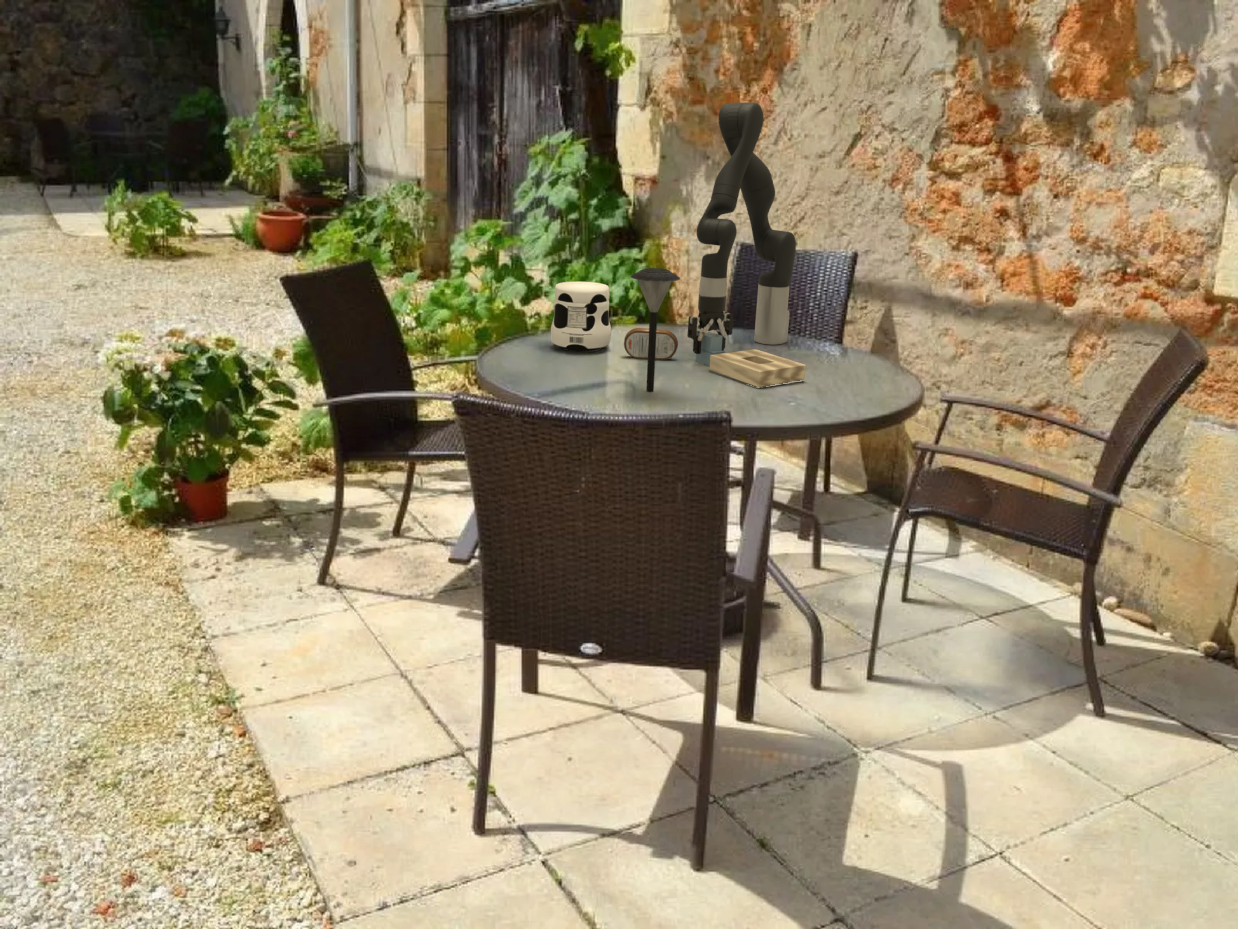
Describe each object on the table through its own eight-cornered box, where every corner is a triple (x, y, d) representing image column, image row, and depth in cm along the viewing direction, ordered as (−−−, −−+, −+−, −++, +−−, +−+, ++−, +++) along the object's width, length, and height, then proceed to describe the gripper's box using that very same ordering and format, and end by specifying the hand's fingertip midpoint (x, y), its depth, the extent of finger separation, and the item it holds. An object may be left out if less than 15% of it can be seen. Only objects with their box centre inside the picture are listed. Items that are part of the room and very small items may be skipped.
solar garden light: (679, 397, 263) (686, 274, 254) (630, 397, 261) (635, 274, 252) (668, 384, 275) (675, 266, 265) (621, 384, 273) (626, 265, 263)
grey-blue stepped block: (703, 358, 303) (705, 330, 300) (724, 365, 296) (726, 337, 294) (692, 360, 301) (694, 331, 298) (712, 367, 294) (714, 338, 291)
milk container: (591, 339, 321) (593, 279, 315) (621, 352, 307) (624, 289, 301) (540, 344, 312) (540, 282, 306) (568, 357, 298) (569, 293, 292)
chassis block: (754, 365, 298) (755, 349, 296) (804, 381, 282) (806, 365, 281) (709, 371, 289) (710, 355, 288) (758, 388, 274) (759, 371, 272)
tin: (677, 359, 302) (678, 329, 299) (676, 361, 299) (678, 331, 296) (623, 355, 303) (624, 326, 300) (622, 358, 300) (623, 328, 297)
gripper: (724, 289, 299) (720, 346, 304) (683, 292, 291) (680, 351, 297) (741, 293, 293) (737, 352, 298) (700, 297, 285) (696, 357, 291)
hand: (708, 352), depth 298 cm, fingers open, 7 cm apart
